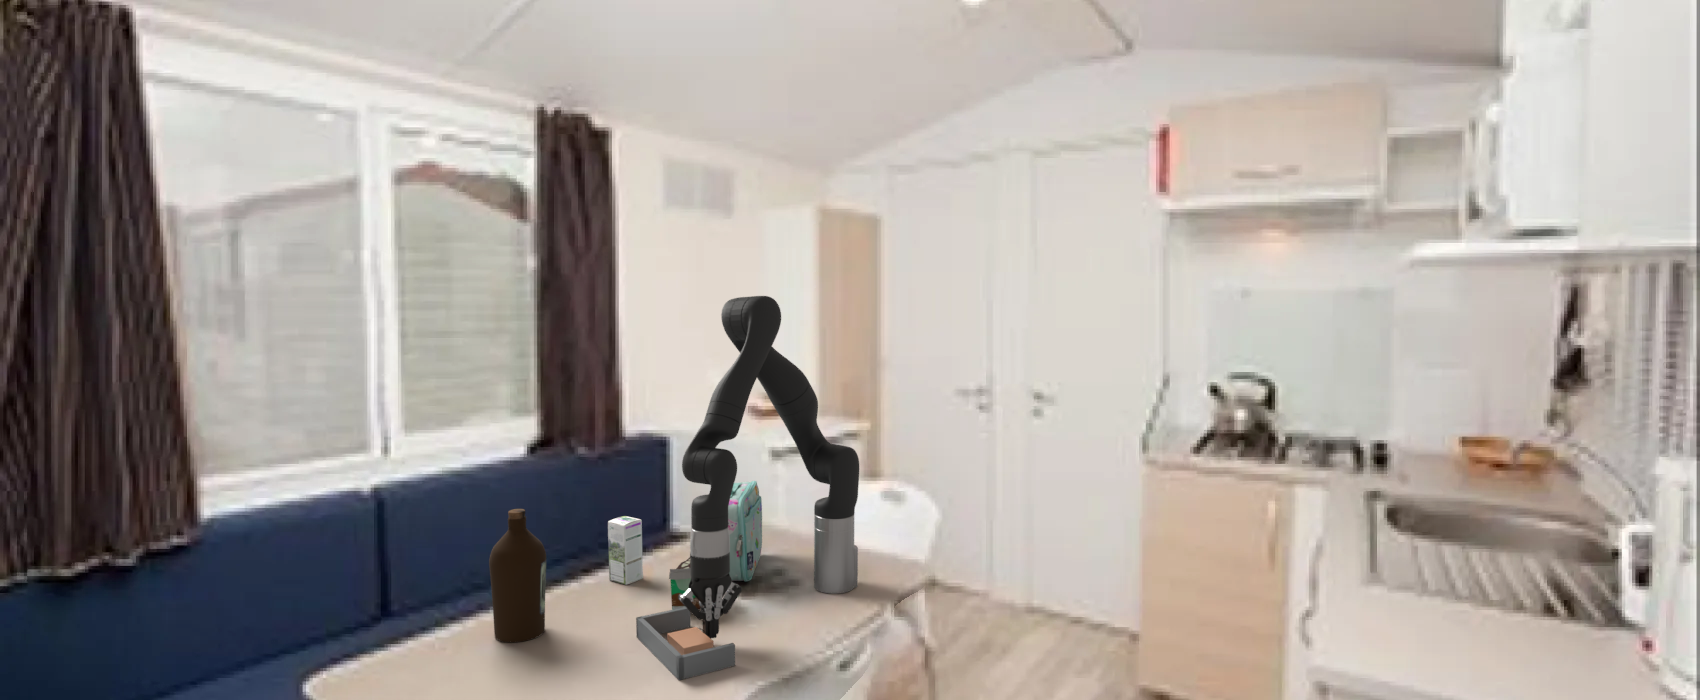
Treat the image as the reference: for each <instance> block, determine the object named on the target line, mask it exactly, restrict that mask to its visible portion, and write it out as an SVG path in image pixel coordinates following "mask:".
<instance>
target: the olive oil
mask: <svg viewBox="0 0 1700 700" xmlns="http://www.w3.org/2000/svg"><path fill="white" fill-rule="evenodd" d="M507 513H508V514H507V516H508V518H507V526H508V527H507V531H506V532H505V533H504V534H503V535H502V536H501V538H499V540H498V541H497V542H496V543H495V544H494V545H493V547H492V549H491V551H490V554H489V559H488V566H489V567H488V568H489V576H490V588H491V600H492V612H493V613H492V615H493V616H492V617H493V628H494V629H493V630H494V631H493V632H494V637H495V639H496V640H497V639H498V640H497V641H499V640H500V641H499V642H502V641H503V643H523V642H527V641H531V640H533V639H536V638H538V637H540V636H541V635H543V633H545V629H546V625H545V624H546V588H547V586H546V585H547V581H546V579H547V553H546V549H545V547H544V544H543V542H542V541H541V540H540V539H539V538H538V537H536V535H534V534H533V533H532V532H531V531H530V530H529V529H528V528H527V516H526V510H525V509H524V508H514V509H510V510H508V512H507Z"/></svg>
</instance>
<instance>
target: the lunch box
mask: <svg viewBox="0 0 1700 700" xmlns="http://www.w3.org/2000/svg"><path fill="white" fill-rule="evenodd" d="M762 500H763V499H762V496H761V495H760V490H759V486H758V481H757V480H752V481H743V482H740V481H739V482H734V485H733V489H732V493H731V497H730V501H729V505H728V529H729V536H730V572H729V575H730V577H731V579H732V582H737V581H738V582H749V581H751V580H752V578H753V576H754V572H755V570H756V568H757V567H758V563H759V560H760V558H761V555H762V549H763V505H762V504H763V502H762ZM743 580H744V581H743Z"/></svg>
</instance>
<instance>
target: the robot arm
mask: <svg viewBox="0 0 1700 700" xmlns="http://www.w3.org/2000/svg"><path fill="white" fill-rule="evenodd" d="M781 311H782V310H781V307H780V305H779V303H778V302H777V301H776V300H775V298H772V297H771V296H768V295H754V296H742V297H741V296H740V297H734V298H731V299H729V300H727V301H726V302H725V303H724V304H723V306H722V309H721V314H720V316H721V324H722V327H723V330H724V332H725V334H726V336H727V337H728V339H729V340H730V341H731V343H732V344H733V345H734V347H735V348H736V349H737V350H738V352H739V354H738V357H737V358H736V359H735V361H734V363H732V365H731V367H730V368H729V369H728V370H727V371H726V373H725V374H724V375H723V376H722V378H721V379H720V380H719V382H718V383H717V385H716V387H715V388H714V390H713V393H712V394H711V398H710V401H709V403H708V407H707V409H706V413H705V417H704V420H703V422H702V424H701V426H700V428H698V430H697V432H696V433H695V435H694V437H693V439H692V440H691V441H690V443H689V445H688V446H687V448H686V450H685V451H684V455H683V457H682V461H681V470H682V474H683V476H684V478H685V479H686V480H687V481H689V482H691V483H696V484H703V485H709V486H710V490H709V493H708V494H702V495H698V496H696V497H695V498H693V500H692V502H691V514H690V515H691V516H690V517H691V532H690V538H689V539H690V540H689V541H690V545H689V546H690V547H689V549H690V551H689V557H690V568H691V580H690V583H689V589H688V590H687V591H686V592H685V593H684V594H680V595H679V596H678V599H679V600H680V601H681V602H682V603H683V604H684V606H685V607H686V608H687V609H688V610H689V611H690V614H691V615H693V617H695V618H696V619H697V620H699V621H701V620H702V632H703V633H704V634H706V635H707V636H708V637H709V638H710V639H715V638H717V636H718V634H719V633H720V617H721V616H723V615H727V614H728V613H729V612H730V610H731V609H732V606H733V605H734V603H735V601H736V600H737V599H738V597H739V596H740V593H741V592H742V591H743V587H742V586H740V585H739V584H738V583H736V582H734V581H732V579H731V577H730V575H729V572H730V536H729V529H728V505H729V501H730V497H731V493H732V489H733V485H734V483H736V482H735V481H736V478H737V473H738V464H737V463H738V462H737V459H736V456H735V455H734V453H732V451H730V450H728V449H725V448H718V447H717V446H718V445H719V444H720V443H722V442H724V441H729V440H733V439H735V438H736V437H737V436H738V434H739V432H740V427H741V424H742V421H743V417H744V414H745V410H746V407H747V404H748V401H749V398H750V395H751V392H752V389H753V388H754V386H755V385H754V384H755V382H756V381H757V380H758V382H759V383H760V385H761V386H762V388H763V389H764V391H765V392H766V393H765V394H766V395H767V397H768V398H769V401H770V403H771V404H772V405H773V407H774V409H775V411H776V412H777V414H778V415H779V417H780V418H781V420H782V422H783V423H784V425H785V427H786V429H787V431H788V433H789V435H790V436H791V437H792V439H793V441H794V443H795V445H796V448H797V450H798V452H799V454H800V457H801V459H802V461H803V464H804V466H805V469H806V470H807V472H808V475H810V477H811V478H812V479H813V480H815V481H817V482H819V483H821V484H826V485H829V491H828V496H826V497H821V498H819V499H817V500H816V501H815V502H814V509H813V511H814V513H813V514H814V517H813V520H814V522H813V523H814V524H813V526H814V527H813V531H814V532H813V533H814V536H813V539H814V540H813V547H814V549H813V553H814V555H813V556H814V557H813V561H814V563H813V564H814V565H813V587H814V589H815V590H816V591H818V592H821V593H825V594H843V593H844V594H845V593H847V592H850V591H852V590H853V589H854V588H857V587H858V585H859V584H858V581H859V580H858V579H859V575H858V573H859V572H858V570H859V567H858V566H859V563H858V561H859V553H858V552H859V548H858V546H857V545H855V514H856V512H855V510H856V509H855V508H856V505H857V502H858V497H859V479H860V458H859V455H858V453H857V452H856V450H855V449H854V448H852V447H850V446H846V445H842V444H835V443H831V442H829V441H828V440H827V438H826V437H825V436H824V435H823V433H822V431H821V429H820V427H819V425H818V422H817V421H818V420H817V419H818V412H819V411H818V410H819V401H818V398H817V395H816V392H815V391H814V389H813V387H812V385H811V383H810V382H809V379H808V377H807V376H806V374H805V373H804V372H803V371H802V370H801V368H799V367H798V366H797V365H796V364H794V363H793V362H792V361H790V360H789V358H786V357H785V356H784V355H782V354H781V353H780V352H779V351H778V350H776V349H775V348H774V346H773V344H774V342H775V340H776V338H777V335H778V333H779V330H780V328H781V325H782V323H781V322H782V312H781ZM693 594H694V596H695V597H696V598H697V599H698V600H699V604H700V607H701V609H699V610H698V609H697V608H696V606H695V605H694V604H693V603H692V602H693V597H692V595H693Z"/></svg>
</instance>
